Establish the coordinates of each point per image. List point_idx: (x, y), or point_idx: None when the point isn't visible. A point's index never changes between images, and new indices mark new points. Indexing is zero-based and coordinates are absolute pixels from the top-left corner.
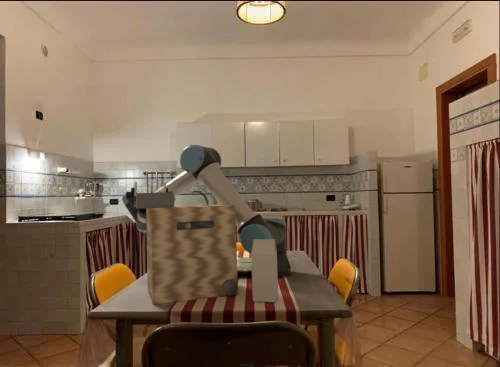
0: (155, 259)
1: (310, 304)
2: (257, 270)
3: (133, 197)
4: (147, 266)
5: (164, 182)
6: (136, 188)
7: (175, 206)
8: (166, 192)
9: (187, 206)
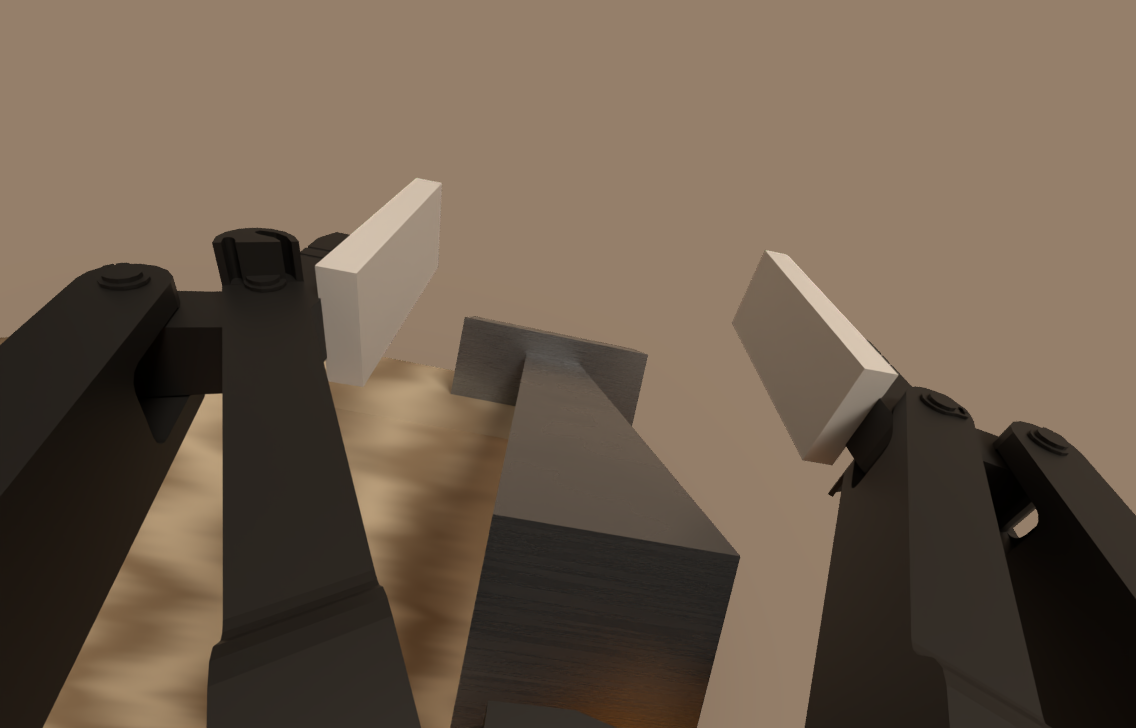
0: None
1: None
2: None
3: (836, 484)
4: None
5: (437, 191)
6: (739, 330)
7: (409, 400)
8: (508, 323)
9: (385, 374)
